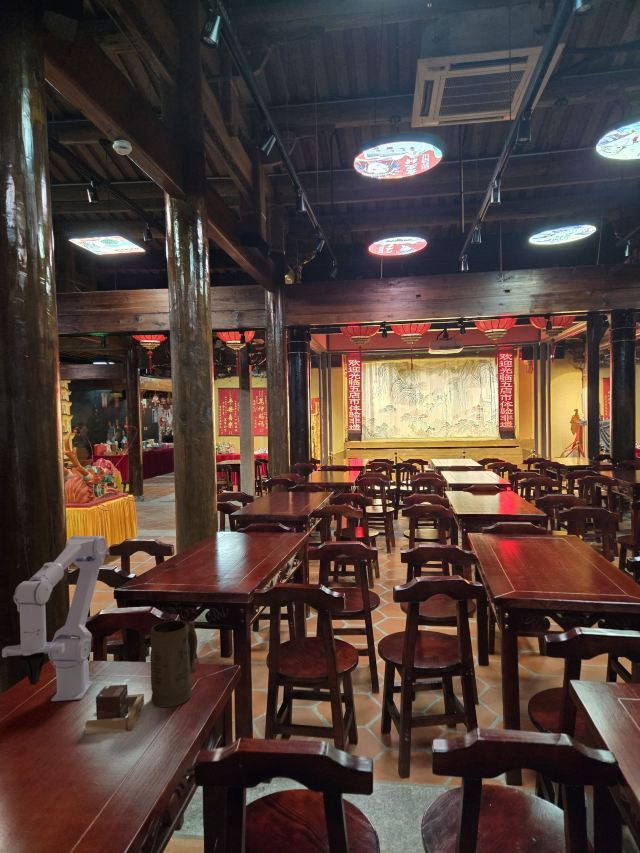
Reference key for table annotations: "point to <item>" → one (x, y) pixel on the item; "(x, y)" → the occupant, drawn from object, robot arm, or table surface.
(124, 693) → the box
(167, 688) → the beer stein
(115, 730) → the slot rails
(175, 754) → the table surface
